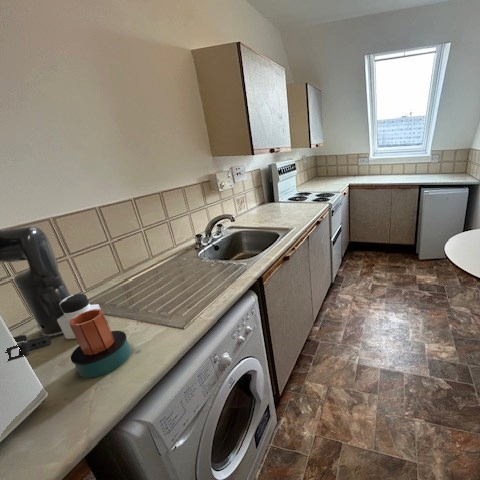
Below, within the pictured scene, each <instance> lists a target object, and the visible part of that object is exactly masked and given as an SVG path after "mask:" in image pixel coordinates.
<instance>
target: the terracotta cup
mask: <svg viewBox="0 0 480 480" xmlns="http://www.w3.org/2000/svg"><path fill="white" fill-rule="evenodd" d="M70 327H71V329H72V331H73V333H74V335H75V337H76V338H75V339H76V341H77V343H78V346H80V347H81V349H82V351H83V353H84V354H85V355H93V354H97V353H99V352H102V351H104V350H105V349H107V348H108V347H110V346H111V345H112V344H113V343H114V337H113V334H112V332H111V331H112V330H111V327H110V325H109V323H108V320H107V319H106V316H105V313H104V310H102V308H100V309H93V310H89V311H86V312H83V313H81V314H79V315H77V316H76V317H74V318H73V319H71V320H70Z"/></svg>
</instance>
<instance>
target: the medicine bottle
mask: <svg viewBox="0 0 480 480" xmlns="http://www.w3.org/2000/svg"><path fill="white" fill-rule="evenodd" d="M59 305H60V307H61V309H62V311H63V313H64V315H63V316H61V317H60V318H59V319H57V322H58V324H59V326H60V327H61V329H62V331H63V336H64V337H65V339H66V340H72V339H76V337H75V335H74V333H73V331H72V329H71V327H70V320H71V319H73V318H74V317H76V316H77V315H79V314H81V313H83V312H86V311H89V310H93V309H101V306H100V304H98V303H97V304H90V302H89V299H88V297H87V295H86V294H84V293H77V294H72V295H70V296H69V297H67V298H65V299H63V300H62V301H61V302H60V304H59Z"/></svg>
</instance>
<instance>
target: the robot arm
mask: <svg viewBox="0 0 480 480" xmlns="http://www.w3.org/2000/svg"><path fill="white" fill-rule="evenodd" d="M24 261H26V262H27V265H28V269H25V270H23V271H21V272H19V273H17V274H16V275H15V276H14V277H13V282H14V284H15V286H16V287H17V290H18V291H19V293H20V296H21V297H22V299H23V300H24V302H25V304H26V306H27V308H28V310H29V311H30V313H31V315H32V318H34V321H35V322H36V327H37V328H38V329H40V331H41V335H42V336H39V337H35V338H31V339H28V338H27V335H26V334H21V335H17V336H13V338H14V339H15V341H16V342H17V345H18V346H17V345H16V346H13V347H10V348H7V350H6V351H7V352H5V353H8V355H9V359H8V361H7V362H6V363H8V362H12V361H14V360H17V359H20V358H26V357H27V356H29V355H30V352H33V351H36V350H40V349H42V348H45V347H49V346H50V345H51V344H52V337H57V336H61V335H64V333H63V331H62V329H61V327H60V326H59V324H58V322H57V319H59V318H60V317H61V316H63V315H64V313H63V311H62V309H61V307H60V305H59V304H60V302H61V301H62V300H63V299H65V298H67V297H69V296H71V294H70V292H69V289H68V288H67V285H66V283H65V281H64V279H63V276H62V274H61V272H60V270H59V263H58V260H57V258H56V254H55V253H54V250H53V247H52V244H51V242H50V239H49V238H48V236H47V234H46V233H45V231H43V229H41V228H39V227H37V226H27V227H26V226H25V227H16V228H15V227H14V228H8V229H7V228H6V229H0V263H18V262H24ZM18 347H19V348H20V349H19V355H18V356H15V357H11V353H12V351H13V350H15V349H18ZM20 350H21V351H20ZM23 355H24V356H25V357H24V356H23Z"/></svg>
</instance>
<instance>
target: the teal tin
mask: <svg viewBox="0 0 480 480" xmlns="http://www.w3.org/2000/svg"><path fill="white" fill-rule="evenodd" d="M111 332H112V334H113V337H114V343H113V344H112V345H111V346H110V347H108V348H107V349H105V350H104V351H102V352H99V353H97V354H93V355H85V354H84V353H83V351H82V349H81V347H80V345H78V346H77V347H76V348H75V349H74V350H73V351H72V353H71V354H70V361H71V363H72V364H74V367H75V368H76V370H77V372H78V374H79V376H80V377H82V378H84V379H93V378H98V377H102V376H104V375H106V374H108V373H111V372H112V371H115V370H116V369H117V368H119V367H120V366H121V365H123V364H124V363H125V362H126V361H127V360H128V359H129V357H130V356H131V353H132V349H131V346H130V344H129V341H128V339H127V338H128V337H127V334H126V333H125V332H124V331H122V330H111Z"/></svg>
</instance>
